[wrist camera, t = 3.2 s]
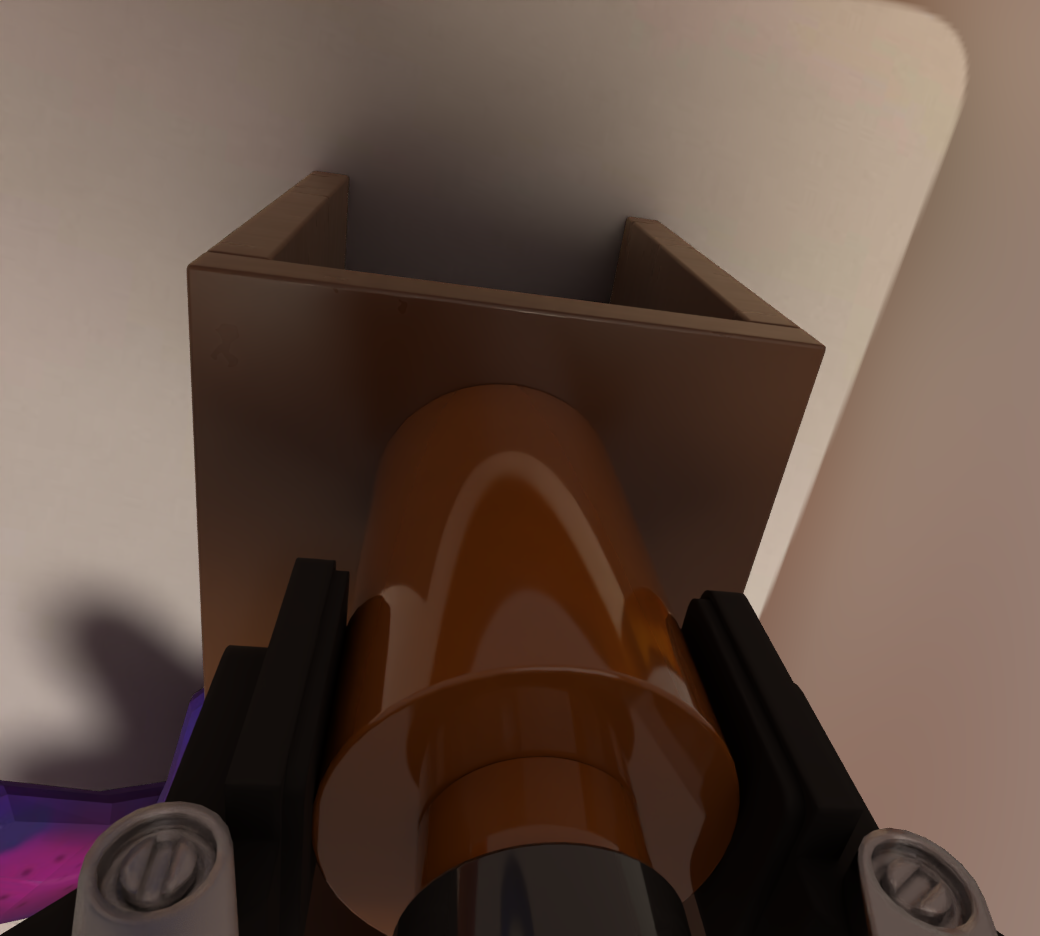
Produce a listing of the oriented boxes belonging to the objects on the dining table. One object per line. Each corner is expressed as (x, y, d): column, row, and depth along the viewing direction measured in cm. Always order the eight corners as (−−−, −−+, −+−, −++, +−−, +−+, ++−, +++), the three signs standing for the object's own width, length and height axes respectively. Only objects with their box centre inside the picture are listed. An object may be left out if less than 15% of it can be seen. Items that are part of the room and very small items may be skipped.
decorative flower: (545, 483, 38) (667, 624, 31) (429, 853, 53) (494, 1002, 46) (-357, 562, 22) (-521, 888, 15) (-155, 1058, 37) (-190, 1334, 30)
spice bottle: (382, 368, 15) (269, 854, 6) (638, 397, 15) (904, 873, 6) (366, 585, 17) (266, 1185, 8) (590, 602, 18) (737, 1172, 9)
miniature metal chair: (312, 169, 26) (-110, 483, 6) (659, 220, 28) (1159, 592, 8) (304, 484, 31) (57, 1178, 12) (594, 511, 33) (801, 1160, 13)
